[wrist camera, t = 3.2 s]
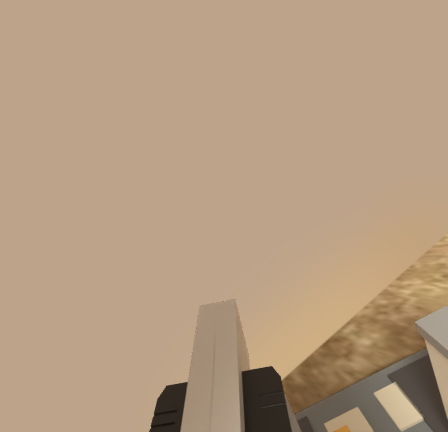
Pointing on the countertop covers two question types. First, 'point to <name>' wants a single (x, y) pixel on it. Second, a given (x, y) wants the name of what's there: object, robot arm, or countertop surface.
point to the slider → (437, 347)
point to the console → (383, 402)
